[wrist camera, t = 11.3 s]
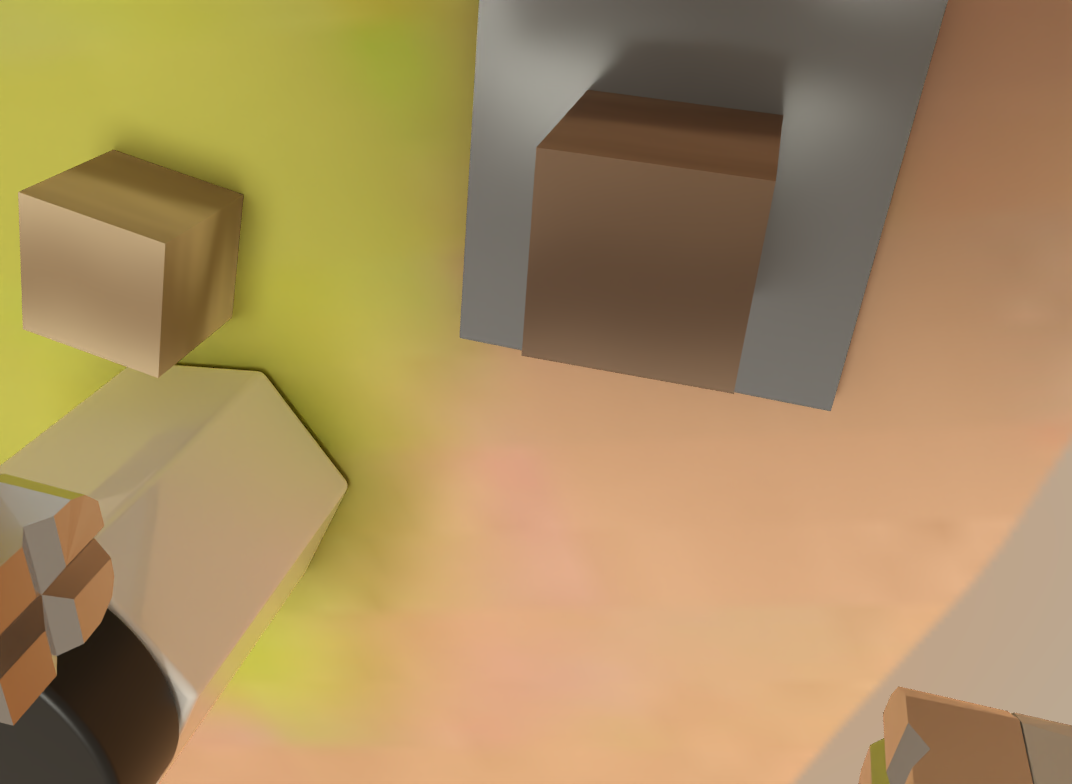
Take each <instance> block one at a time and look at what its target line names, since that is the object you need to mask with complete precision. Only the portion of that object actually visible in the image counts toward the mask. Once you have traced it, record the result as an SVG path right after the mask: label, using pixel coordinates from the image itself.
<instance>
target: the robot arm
mask: <svg viewBox="0 0 1072 784" xmlns="http://www.w3.org/2000/svg"><path fill="white" fill-rule="evenodd" d="M103 527H104V522H103V518H102V514H101V510H100V506H99V502H98V501H97V500H95V499H93V498H91V497H89V496H86V495H84V494H80V493H76V492H72V491H69V490H65V489H61V488H57V487H54V486H50V485H46V484H42V483H38V482H35V481H31V480H27V479H23V478H20V477H16V476H12V475H8V474H5V473H4V474H1V473H0V722H1V723H5V724H9V725H13V726H14V725H15V723H16V722H17V721H18V720H19V719H20V718H21V716H22V715H23V714H24V713H25V712H26V711H27V709H28V708H29V707H30V706H31V705H32V704H33V703H34V701H35V700H36V699H37V698H38V697H39V696H40V694H41V693H42V692H43V691H44V690H45V689H46V687H47V686H48V685H49V684H50V683H51V682H52V680H53V679H54V678H55V677H56V676H57V656H58V655H60V654H62V653H65V652H67V651H69V650H71V649H73V648H75V647H78V646H80V645H82V644H84V643H85V642H86V640H87V639H88V638H89V637H90V636H91V634H92V633H93V632H94V631H95V629H96V628H97V627H98V626H99V625H100V623H101V622H102V619H103V617H104V615H105V612H106V610H107V608H108V605H109V603H110V601H111V598H112V595H113V584H114V571H113V566H112V560H111V557H110V556H109V555H108V554H107V552H106V551H105V550H104V549H103V548H102V546H101V545H100V544H99V543H98V542H97V541H96V539H95V537H96V536H97V535H98V533H99V532H100V531H101V530H102V528H103ZM883 722H884V738H883V739H881V740H880V741H878V742H875V743H873V744H872V745H870V747H869V749H868V752H867V755H866V758H865V760H864V763H863V766H862V769H861V774H860V778H859V783H858V784H1072V726H1071V725H1067V724H1063V723H1058V722H1054V721H1049V720H1045V719H1040V718H1036V717H1032V716H1027V715H1023V714H1018V713H1009V712H1008V711H1004V710H1000V709H996V708H991V707H987V706H983V705H978V704H974V703H970V702H965V701H961V700H956V699H952V698H948V697H943V696H939V695H934V694H930V693H925V692H921V691H916V690H912V689H908V688H903V687H898V688H897V689H896V690H895V691H894V692H893V693H892V694H891V696H890V699H889V701H888V703H887V706H886V708H885V710H884V712H883Z"/></svg>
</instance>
